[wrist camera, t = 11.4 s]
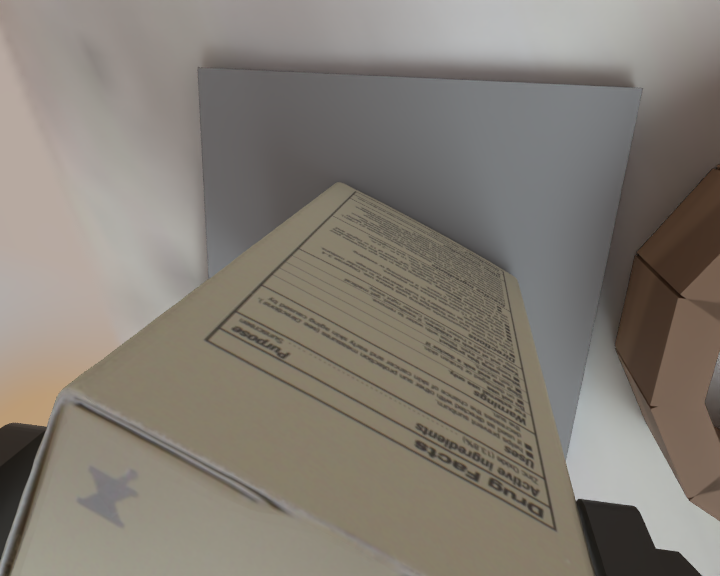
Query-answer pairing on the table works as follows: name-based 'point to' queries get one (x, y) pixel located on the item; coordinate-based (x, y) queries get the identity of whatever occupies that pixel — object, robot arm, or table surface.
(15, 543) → the skincare box
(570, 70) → the table surface
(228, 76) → the mat
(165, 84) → the table surface
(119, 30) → the table surface
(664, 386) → the holder ring
